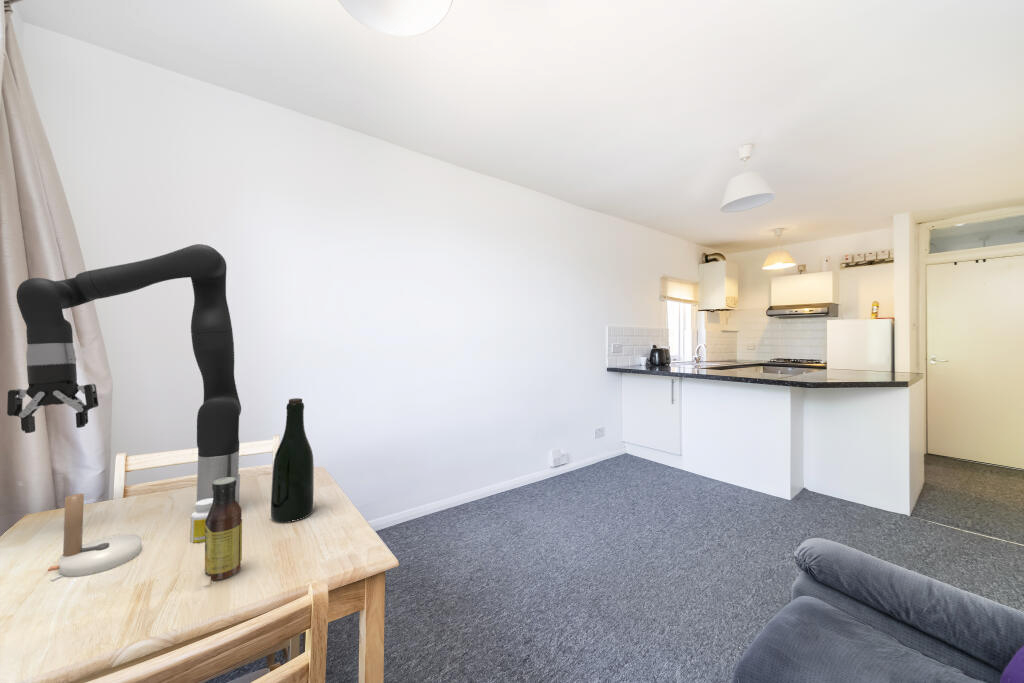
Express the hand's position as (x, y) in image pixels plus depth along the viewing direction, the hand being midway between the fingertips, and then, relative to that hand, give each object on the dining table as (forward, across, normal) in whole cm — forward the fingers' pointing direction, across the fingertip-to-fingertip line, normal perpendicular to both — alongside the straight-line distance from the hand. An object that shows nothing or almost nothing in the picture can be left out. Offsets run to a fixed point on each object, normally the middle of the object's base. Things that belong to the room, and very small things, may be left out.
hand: (56, 429), depth 91 cm
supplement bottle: (+29, +30, -15) cm, 45 cm away
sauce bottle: (+30, +37, -32) cm, 57 cm away
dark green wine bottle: (+31, +48, -7) cm, 58 cm away
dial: (+27, +13, -18) cm, 35 cm away
